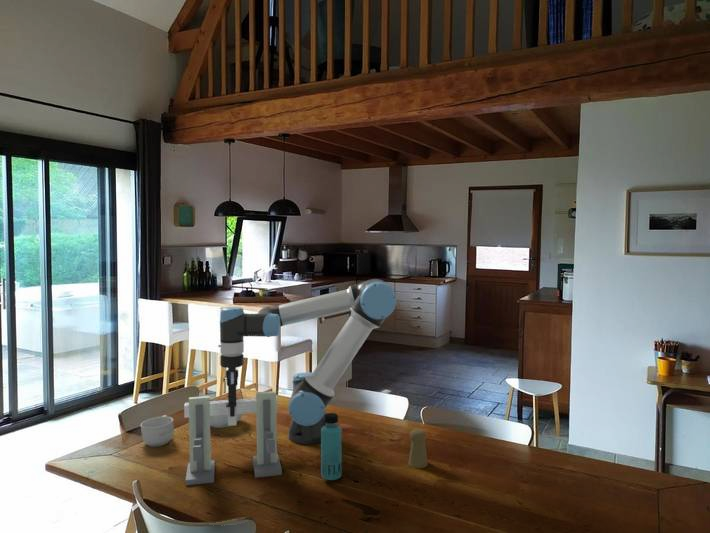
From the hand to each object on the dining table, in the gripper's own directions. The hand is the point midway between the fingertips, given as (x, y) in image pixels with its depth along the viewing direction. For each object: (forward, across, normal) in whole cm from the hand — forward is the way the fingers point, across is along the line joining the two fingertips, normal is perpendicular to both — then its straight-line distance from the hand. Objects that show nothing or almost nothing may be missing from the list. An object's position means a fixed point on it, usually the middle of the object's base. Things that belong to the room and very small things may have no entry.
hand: (232, 423), depth 174 cm
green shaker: (+10, +23, +57) cm, 63 cm away
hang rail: (-3, 0, 0) cm, 3 cm away
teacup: (+11, -16, -25) cm, 31 cm away
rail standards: (+10, +20, 0) cm, 22 cm away
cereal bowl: (+11, -28, -4) cm, 30 cm away
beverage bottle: (+10, +27, +28) cm, 41 cm away
